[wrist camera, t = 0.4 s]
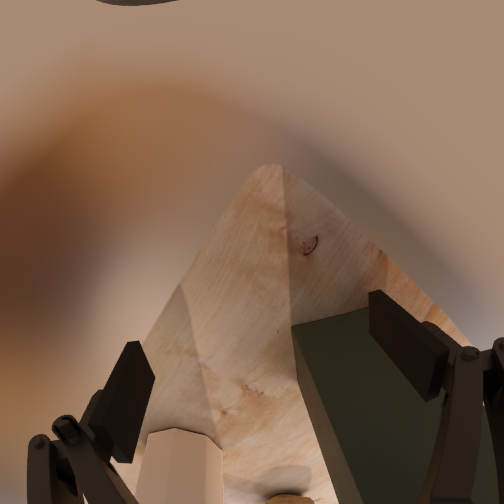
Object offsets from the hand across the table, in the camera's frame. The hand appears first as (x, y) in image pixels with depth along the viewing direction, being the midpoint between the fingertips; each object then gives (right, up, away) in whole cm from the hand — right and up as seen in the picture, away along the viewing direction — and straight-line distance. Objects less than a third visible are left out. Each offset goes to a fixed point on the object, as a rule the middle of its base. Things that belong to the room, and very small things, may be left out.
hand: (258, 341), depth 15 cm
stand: (+9, -6, +15) cm, 18 cm away
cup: (-10, -23, +18) cm, 31 cm away
